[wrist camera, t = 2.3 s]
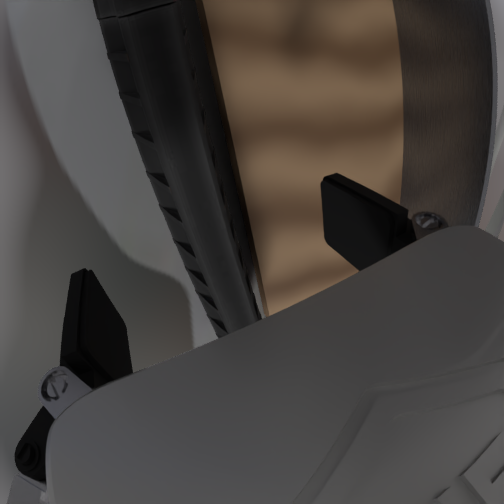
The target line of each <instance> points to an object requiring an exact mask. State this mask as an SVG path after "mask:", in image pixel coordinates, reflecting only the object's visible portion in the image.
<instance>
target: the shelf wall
mask: <svg viewBox="0 0 504 504" xmlns="http://www.w3.org/2000/svg"><path fill="white" fill-rule="evenodd" d="M392 1H393V7H394V13H395V19H396V26H397V33H398V41H399V50H400V60H401V72H402V88H403V167H402V184H401V197H400V205H401V206H403V207H405V208H406V209H408V210H409V211H408V218H409V219H412V216H413V215H414V214H415V213H417V212H421V211H428V212H433V213H436V214H438V215H440V216H442V217H443V218H444V219H445V220H446V221H447V223H448V226H449V227H453V226H462V225H469V226H475V227H479V223H480V218H481V215H482V211H483V206H484V201H485V196H486V192H487V187H488V182H489V176H490V170H491V164H492V157H493V149H494V141H495V130H496V117H497V56H496V42H495V32H494V24H493V17H492V10H491V5H490V0H392Z"/></svg>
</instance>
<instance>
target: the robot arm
mask: <svg viewBox="0 0 504 504" xmlns="http://www.w3.org/2000/svg"><path fill="white" fill-rule="evenodd" d="M320 187H321V199H322V213H323V229H324V239H325V241H326V243H327V244H328V245H329V246H330V247H331V248H332V249H334V250H335V251H336V252H337V253H338V254H340V255H341V256H342V257H343V258H344V259H346V260H347V261H348V262H349V263H350V264H352V265H353V266H354V267H355V268H356V269H357V270H359V272H358V273H356V274H354V275H352V276H350V277H348V278H346V279H344V280H342V281H340V282H338V283H336V284H334V285H332V286H330V287H328V288H327V289H325V290H323V291H321V292H319V293H316V294H314V295H312V296H310V297H308V298H306V299H304V300H302V301H300V302H298V303H296V304H294V305H292V306H290V307H288V308H285V309H283V310H281V311H279V312H277V313H275V314H273V315H270V316H268V317H266V318H264V319H262V320H259V321H257V322H255V323H253V324H251V325H248V326H246V327H244V328H242V329H239V330H237V331H235V332H232V333H230V334H228V335H225V336H223V337H221V338H218V339H216V340H214V341H211V342H209V343H207V344H204V345H202V346H200V347H197V348H195V349H192V350H190V351H187V352H185V353H182V354H180V355H177V356H175V357H172V358H170V359H167V360H165V361H162V362H160V363H157V364H155V365H152V366H149V367H147V368H144V369H142V370H139V371H137V372H134V373H133V370H132V364H131V357H130V351H129V343H128V336H127V328H126V325H125V323H124V321H123V319H122V318H121V316H120V314H119V313H118V311H117V310H116V308H115V307H114V305H113V304H112V302H111V301H110V299H109V297H108V296H107V294H106V293H105V291H104V289H103V288H102V286H101V285H100V283H99V281H98V279H97V277H96V276H95V274H94V272H93V271H92V270H89V271H88V270H86V269H85V268H84V269H82V270H79V271H77V272H75V273H73V274H71V279H70V285H69V290H68V297H67V304H66V311H65V317H64V323H63V332H62V342H61V354H60V366H58V367H54V368H52V369H51V370H49V371H48V372H47V373H46V374H45V375H44V376H43V377H42V379H41V381H40V383H39V386H38V398H39V400H40V401H41V403H42V404H43V407H42V408H41V409H40V411H39V412H38V414H37V416H36V417H35V418H34V420H33V421H32V423H31V424H30V426H29V427H28V429H27V430H26V432H25V433H24V435H23V437H22V438H21V440H20V441H19V443H18V445H17V447H16V451H15V463H16V466H17V468H18V470H19V475H17V474H14V478H13V481H12V485H11V489H10V493H9V497H8V501H7V504H504V242H503V241H501V240H500V239H498V238H497V237H495V236H493V235H492V234H490V233H488V232H486V231H484V230H482V229H480V228H478V227H475V226H469V225H462V226H453V227H449V226H448V223H447V221H446V220H445V219H444V218H443V217H442V216H440V215H438V214H436V213H433V212H428V211H421V212H417V213H415V214H414V215H413V216H412V219H409V218H408V211H409V210H408V209H406V208H405V207H403V206H401V205H399V204H397V203H396V202H394V201H392V200H390V199H388V198H386V197H385V196H383V195H381V194H379V193H377V192H375V191H373V190H371V189H369V188H367V187H365V186H363V185H361V184H359V183H357V182H355V181H353V180H351V179H349V178H347V177H345V176H343V175H341V174H339V173H334V174H331V175H328V176H325V177H324V178H323V181H321V183H320Z"/></svg>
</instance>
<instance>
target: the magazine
mask: <svg viewBox="0 0 504 504" xmlns="http://www.w3.org/2000/svg"><path fill="white" fill-rule="evenodd" d="M93 3H94V7H95V11H96V16H97V19H98V20H99V22H100V26H101V30H102V34H103V38H104V41H105V45H106V49H107V52H108V53H107V55H108V59H109V60H110V63H111V66H112V70H113V73H114V76H115V80H116V83H117V86H118V89H119V95H120V98H121V99H122V102H123V105H124V108H125V111H126V114H127V117H128V120H129V123H130V126H131V129H132V134H133V137H134V138H135V141H136V143H137V146H138V149H139V152H140V155H141V157H142V160H143V163H144V166H145V168H146V173H147V176H148V177H149V179H150V182H151V184H152V187H153V189H154V192H155V195H156V197H157V200H158V202H159V207H160V209H161V210H162V212H163V215H164V217H165V220H166V222H167V225H168V227H169V229H170V232H171V234H172V237H173V241H174V243H175V244H176V246H177V248H178V251H179V253H180V255H181V258H182V260H183V262H184V265H185V268H186V270H187V272H188V274H189V276H190V278H191V280H192V283H193V285H194V287H195V291H196V293H197V294H198V296H199V298H200V300H201V302H202V305H203V307H204V309H205V311H206V313H207V316H208V318H209V320H210V322H211V324H212V326H213V328H214V330H215V332H216V335H217V337H218V338H221V337H223V336H225V335H228V334H230V333H232V332H235V331H237V330H239V329H242V328H244V327H246V326H248V325H251V324H253V323H255V322H257V321H259V320H262V317H261V314H260V312H259V309H258V306H257V303H256V299H255V295H254V293H253V290H252V287H251V283H250V280H249V276H248V272H247V268H246V267H245V263H244V260H243V257H242V253H241V248H240V244H239V243H238V239H237V236H236V232H235V229H234V225H233V219H232V216H231V214H230V211H229V207H228V203H227V200H226V196H225V192H224V187H223V182H222V180H221V177H220V173H219V169H218V166H217V162H216V157H215V151H214V147H213V146H212V142H211V138H210V134H209V130H208V126H207V122H206V117H205V110H204V106H203V105H202V101H201V96H200V92H199V88H198V83H197V79H196V71H195V67H194V65H193V61H192V56H191V51H190V47H189V42H188V33H187V28H185V23H184V18H183V12H182V7H181V2H180V0H93Z"/></svg>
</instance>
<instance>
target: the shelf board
mask: <svg viewBox="0 0 504 504" xmlns="http://www.w3.org/2000/svg"><path fill="white" fill-rule="evenodd" d="M195 1H196V6H197V11H198V15H199V20H200V24H201V29H202V33H203V38H204V43H205V47H206V52H207V56H208V61H209V65H210V70H211V74H212V79H213V83H214V88H215V92H216V97H217V102H218V106H219V111H220V115H221V120H222V124H223V129H224V133H225V138H226V142H227V147H228V151H229V156H230V160H231V165H232V169H233V174H234V178H235V183H236V187H237V192H238V197H239V201H240V206H241V210H242V215H243V219H244V224H245V228H246V233H247V237H248V242H249V246H250V251H251V255H252V260H253V264H254V269H255V273H256V278H257V282H258V287H259V291H260V296H261V300H262V305H263V309H264V314H265V315H266V317H268V316H270V315H273V314H275V313H277V312H279V311H281V310H283V309H285V308H288V307H290V306H292V305H294V304H296V303H298V302H300V301H302V300H304V299H306V298H308V297H310V296H312V295H314V294H316V293H319V292H321V291H323V290H325V289H327V288H328V287H330V286H332V285H334V284H336V283H338V282H340V281H342V280H344V279H346V278H348V277H350V276H352V275H354V274H356V273H358V272H359V270H357V269H356V268H355V267H354V266H353V265H352V264H350V263H349V262H348V261H347V260H346V259H344V258H343V257H342V256H341V255H340V254H338V253H337V252H336V251H335V250H334V249H332V248H331V247H330V246H329V245H328V244H327V243H326V241H325V239H324V229H323V213H322V199H321V187H320V183H321V181H323V178H324V177H325V176H328V175H331V174H334V173H339V174H341V175H343V176H345V177H347V178H349V179H351V180H353V181H355V182H357V183H359V184H361V185H363V186H365V187H367V188H369V189H371V190H373V191H375V192H377V193H379V194H381V195H383V196H385V197H386V198H388V199H390V200H392V201H394V202H396V203H397V204H399V205H400V197H401V184H402V167H403V88H402V72H401V60H400V50H399V41H398V33H397V26H396V19H395V13H394V7H393V1H392V0H195Z"/></svg>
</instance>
